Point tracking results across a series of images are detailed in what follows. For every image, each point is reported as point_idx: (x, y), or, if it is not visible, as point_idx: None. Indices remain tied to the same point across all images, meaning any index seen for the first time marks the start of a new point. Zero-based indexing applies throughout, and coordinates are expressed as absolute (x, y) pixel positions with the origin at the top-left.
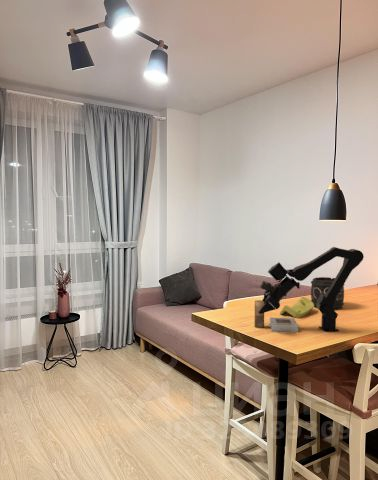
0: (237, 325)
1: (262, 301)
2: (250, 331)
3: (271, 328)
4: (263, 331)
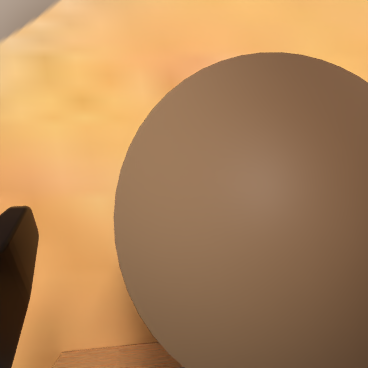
0: (186, 35)
1: (308, 328)
2: (19, 145)
3: (80, 357)
4: (36, 268)
